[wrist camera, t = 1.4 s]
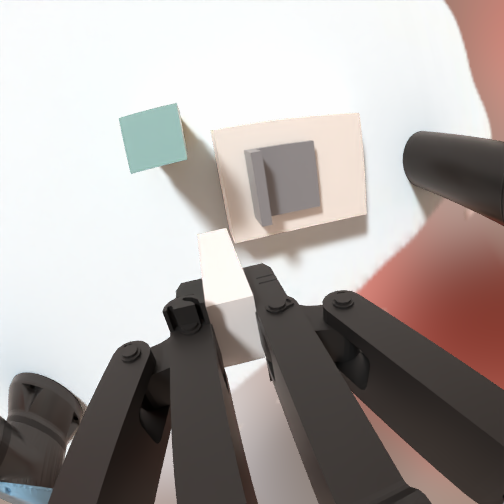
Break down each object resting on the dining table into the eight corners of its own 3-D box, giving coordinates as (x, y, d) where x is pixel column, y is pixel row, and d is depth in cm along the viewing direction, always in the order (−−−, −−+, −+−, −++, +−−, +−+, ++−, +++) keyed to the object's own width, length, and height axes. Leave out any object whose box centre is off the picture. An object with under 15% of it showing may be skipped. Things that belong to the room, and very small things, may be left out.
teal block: (150, 158, 31) (130, 173, 20) (142, 122, 29) (119, 118, 18) (187, 149, 31) (187, 159, 20) (180, 113, 29) (176, 103, 19)
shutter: (254, 217, 31) (262, 226, 28) (243, 150, 28) (250, 152, 25) (317, 204, 32) (330, 212, 29) (310, 140, 29) (323, 141, 26)
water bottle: (437, 197, 41) (555, 254, 20) (391, 185, 38) (530, 248, 17) (449, 136, 37) (574, 169, 16) (404, 116, 34) (552, 138, 14)
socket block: (229, 231, 36) (234, 243, 32) (210, 130, 31) (213, 130, 27) (350, 205, 38) (366, 214, 34) (342, 113, 33) (359, 113, 29)
